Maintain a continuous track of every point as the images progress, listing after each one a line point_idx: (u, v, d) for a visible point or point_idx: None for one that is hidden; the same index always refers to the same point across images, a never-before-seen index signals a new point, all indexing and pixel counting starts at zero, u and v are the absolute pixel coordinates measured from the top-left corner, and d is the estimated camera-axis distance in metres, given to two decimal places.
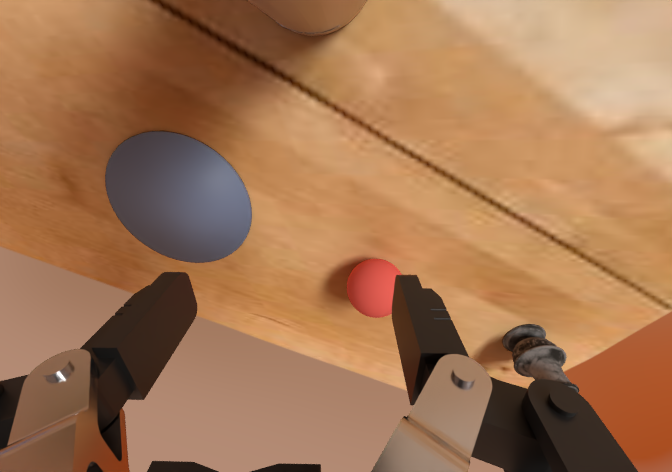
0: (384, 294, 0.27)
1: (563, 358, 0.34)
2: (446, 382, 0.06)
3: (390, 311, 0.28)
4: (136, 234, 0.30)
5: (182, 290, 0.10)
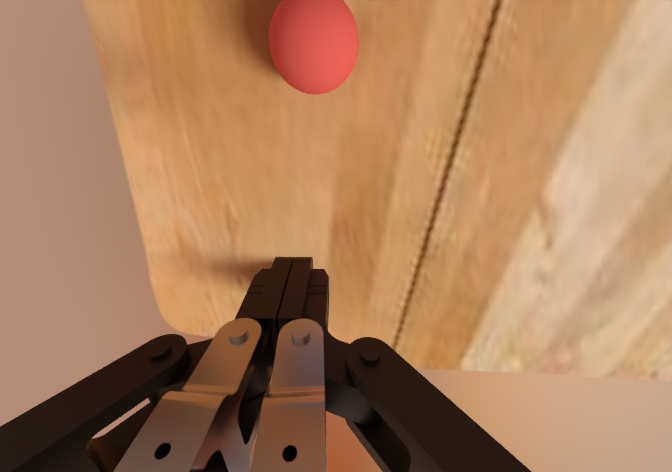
0: (334, 38, 0.17)
1: None
2: (290, 347, 0.07)
3: (307, 67, 0.18)
4: None
5: None
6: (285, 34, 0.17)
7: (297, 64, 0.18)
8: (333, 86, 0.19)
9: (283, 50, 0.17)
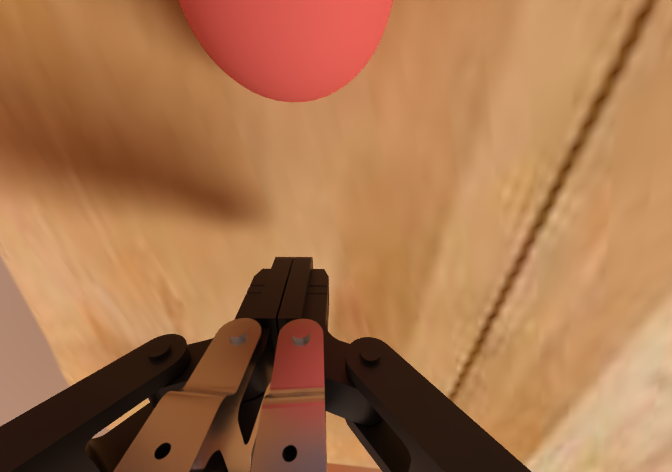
0: None
1: None
2: (290, 347, 0.07)
3: (263, 32, 0.06)
4: None
5: None
6: None
7: (235, 26, 0.06)
8: (334, 84, 0.08)
9: None
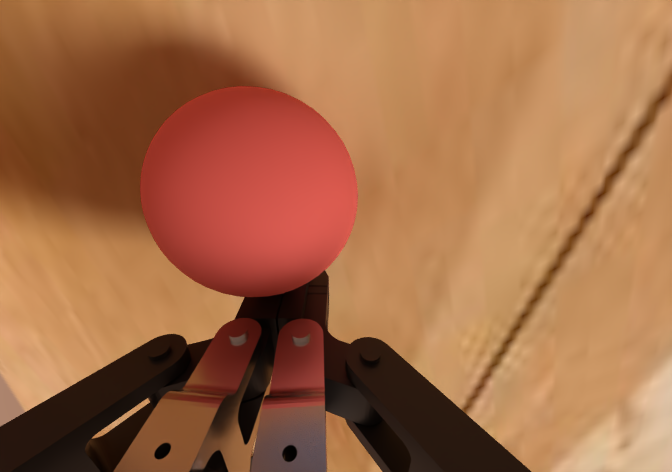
0: (287, 182, 0.06)
1: None
2: (290, 347, 0.07)
3: (203, 245, 0.06)
4: None
5: None
6: (154, 164, 0.06)
7: (177, 236, 0.06)
8: (288, 287, 0.08)
9: (148, 200, 0.06)
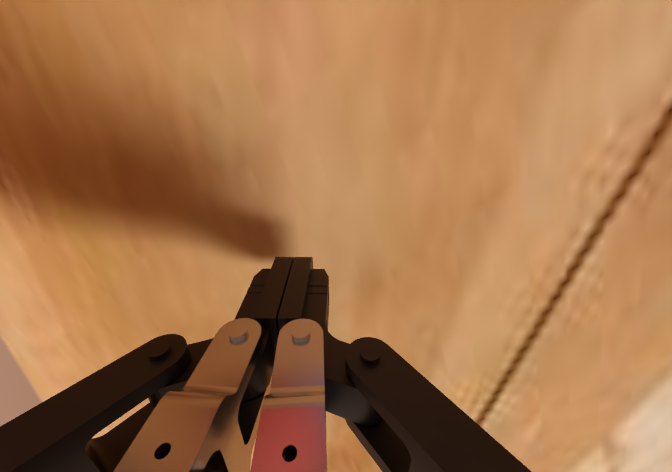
0: None
1: None
2: (290, 347, 0.07)
3: None
4: None
5: None
6: None
7: None
8: None
9: None
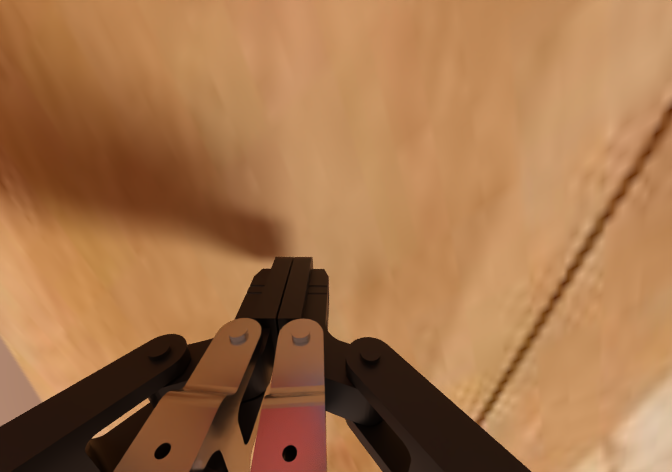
0: None
1: None
2: (290, 347, 0.07)
3: None
4: None
5: None
6: None
7: None
8: None
9: None
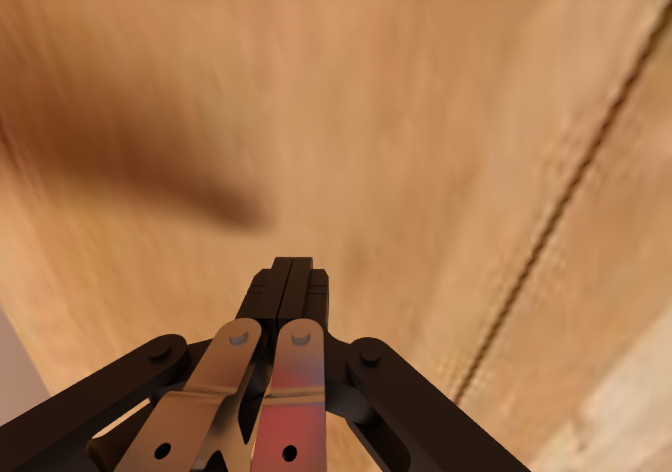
0: None
1: None
2: (290, 347, 0.07)
3: None
4: None
5: None
6: None
7: None
8: None
9: None
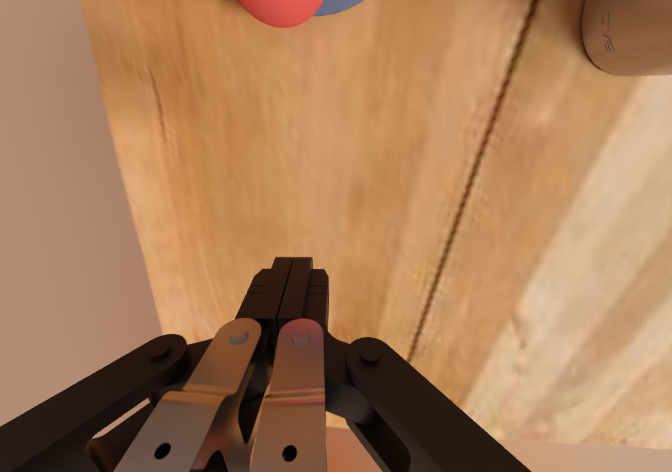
0: (308, 13, 0.16)
1: None
2: (290, 347, 0.07)
3: (280, 27, 0.17)
4: None
5: None
6: (255, 10, 0.16)
7: None
8: None
9: (252, 14, 0.16)
